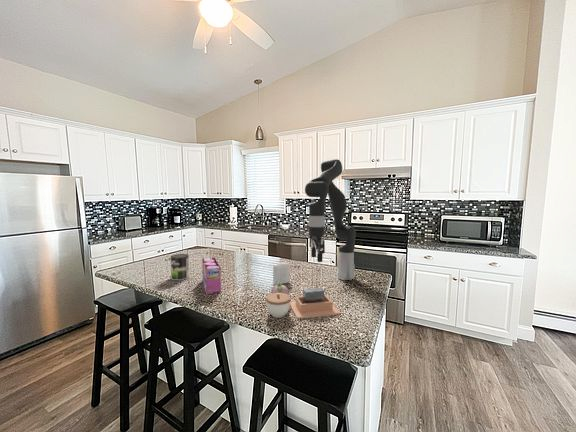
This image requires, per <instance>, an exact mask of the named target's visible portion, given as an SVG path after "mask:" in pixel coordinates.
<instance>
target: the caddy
mask: <svg viewBox="0 0 576 432" xmlns="http://www.w3.org/2000/svg"><path fill="white" fill-rule="evenodd" d="M289 308H290V309H291V310H292V313H293V315H294V316H295V318H296V320H300V319H310V318H311V319H312V318H321V317H329V316H339V315H341V314H342V312H341V311H340V310H339V309H338V308H337V306H335V304H334V302H333V301H332V300H331V298H329V296H328V295H327V294H325V293H324V302H317V303H306V304H303V295H302V296H295V300H292V301H291V300H290V307H289Z"/></svg>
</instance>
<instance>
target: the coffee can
mask: <svg viewBox="0 0 576 432" xmlns="http://www.w3.org/2000/svg"><path fill="white" fill-rule="evenodd" d="M189 257H190V256H189V254H188V253H178V254H177V253H176V254H173V255H171V256H170V274H171V275H170V276H171V278H170V279H171V280H172V281H175V280H179V281H184V279H185V280H187V279H189V278H190V276H189V275H190V274H189V272H190V270H189V262H190V261H189Z"/></svg>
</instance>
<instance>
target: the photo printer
mask: <svg viewBox="0 0 576 432" xmlns="http://www.w3.org/2000/svg"><path fill="white" fill-rule="evenodd" d="M290 269H291V267H290V263H289V262H278V263H276V264H274V265H273V268H272V270H273V271H272V273H273V275H272V278H273V279H272V282H273V285H274V286H275V285H277V284H279V283H280V284H282V285H284V284H288V283H290V278H291V277H290V275H291V274H290V272H291V270H290Z"/></svg>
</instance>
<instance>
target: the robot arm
mask: <svg viewBox="0 0 576 432" xmlns="http://www.w3.org/2000/svg"><path fill="white" fill-rule="evenodd" d="M320 169H321V172H320V173H319V174H318V175H317V176H316V178H313V179H311V180H309V181H308V182H307V183H306V184H305V187H304V192H305V195H306V196H307V197H310V198H319V199H318V201H314V202H310V203H309V206H308V236H309V243H308V244H309V248H310V251H311V252H310V253H311V255H310V256H311V258H316V260H317V263H322V262H323V254H325V253H326V252H325V251H326V250H325V249H326V248H325V247H326V245H325V240H324V239H322V237H323V236H325V234H326V218H325V217H326V216H325V206H326V200H327V197H328V200H329V205H330V208H331V211H332V217H333V221H334V228H335V235H336V238H337V239H338V240H341V241H346V242H345V244H344V245H343V244H342V245H340V246H339V247H338V260H337V261H338V262H337V263H338V266H337V267H338V268H337V278H338V279H339V280H340V279H341V281H345V280H350V281H353V280H355V272H356V271H355V267H356V265H355V262H354V258H355V257H354V256H355V255H354V254H355V246H356V236H357V235H356V234H357V231H356V228H355V226H351V225H345V224H344V221H343V218H344V215H345V213H346V211H347V208H348V204H347V200H346V195H345V194H344V192H343V191H342V190H341V189H339V188H338V187H337V186H336V185H335V183H334V180H335V179H337V178H338V177H340V176H341V175H342V172H343V164H342V162H341V160H340V159H335V158H334V159H330V160H325V161H322V162H321V163H320ZM352 279H353V280H352Z"/></svg>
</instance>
